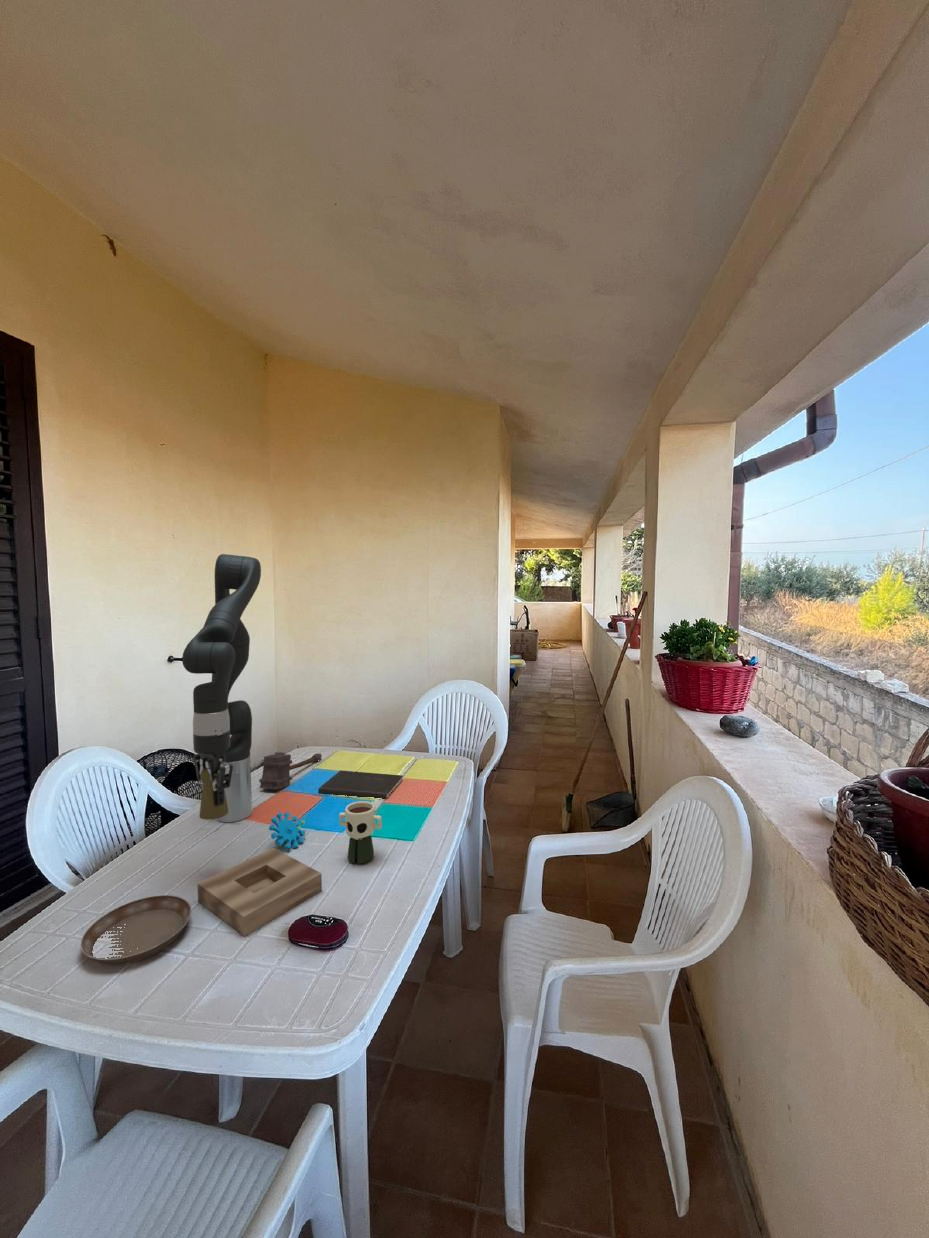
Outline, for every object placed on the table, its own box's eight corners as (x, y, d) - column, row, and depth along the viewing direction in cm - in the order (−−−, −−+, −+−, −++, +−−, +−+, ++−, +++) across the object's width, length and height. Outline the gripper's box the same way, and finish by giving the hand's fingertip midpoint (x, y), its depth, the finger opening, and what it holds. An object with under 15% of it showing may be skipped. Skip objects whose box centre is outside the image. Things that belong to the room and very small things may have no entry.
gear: (283, 851, 125) (265, 816, 128) (269, 864, 126) (252, 829, 130) (315, 837, 134) (298, 805, 138) (302, 850, 136) (285, 817, 140)
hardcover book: (340, 776, 179) (340, 770, 178) (402, 781, 174) (402, 775, 174) (318, 795, 163) (318, 788, 163) (386, 801, 158) (386, 794, 158)
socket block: (198, 901, 108) (197, 883, 108) (274, 863, 122) (273, 847, 122) (244, 936, 97) (243, 916, 97) (321, 890, 112) (321, 873, 111)
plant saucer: (143, 980, 87) (142, 963, 87) (55, 967, 90) (54, 950, 90) (211, 914, 104) (211, 899, 104) (136, 904, 107) (135, 890, 107)
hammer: (257, 788, 164) (260, 756, 165) (310, 771, 195) (313, 745, 196) (276, 790, 162) (279, 758, 163) (326, 773, 194) (329, 746, 195)
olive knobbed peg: (206, 807, 120) (204, 762, 119) (232, 807, 121) (231, 762, 120) (194, 820, 114) (193, 772, 113) (222, 819, 115) (221, 772, 114)
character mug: (333, 864, 122) (332, 811, 121) (346, 848, 129) (345, 799, 128) (376, 868, 120) (376, 815, 119) (387, 853, 127) (386, 802, 126)
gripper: (179, 727, 117) (182, 799, 119) (210, 739, 109) (212, 817, 110) (212, 720, 123) (214, 788, 124) (244, 731, 114) (245, 805, 116)
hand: (213, 801), depth 117 cm, fingers closed on olive knobbed peg, 4 cm apart
